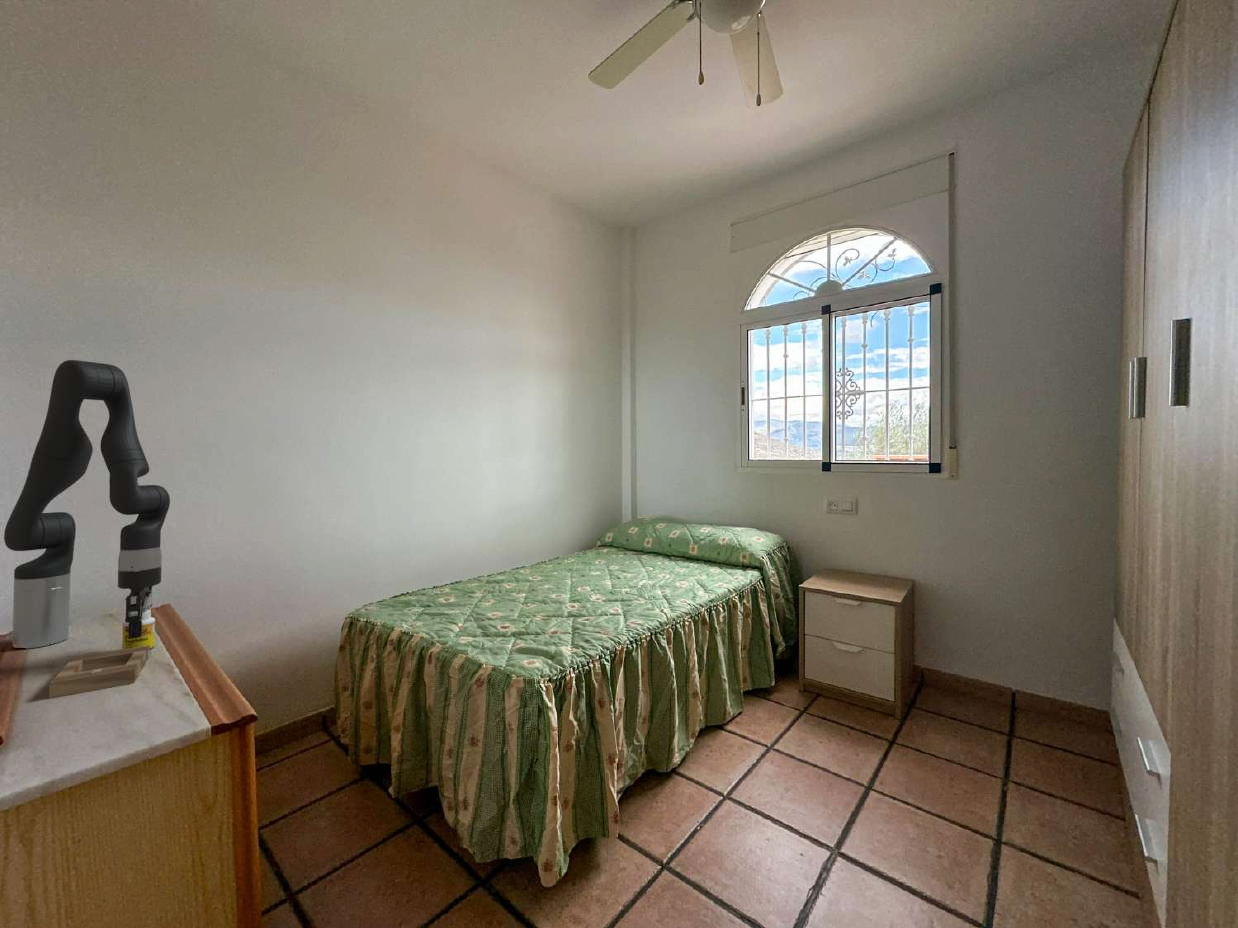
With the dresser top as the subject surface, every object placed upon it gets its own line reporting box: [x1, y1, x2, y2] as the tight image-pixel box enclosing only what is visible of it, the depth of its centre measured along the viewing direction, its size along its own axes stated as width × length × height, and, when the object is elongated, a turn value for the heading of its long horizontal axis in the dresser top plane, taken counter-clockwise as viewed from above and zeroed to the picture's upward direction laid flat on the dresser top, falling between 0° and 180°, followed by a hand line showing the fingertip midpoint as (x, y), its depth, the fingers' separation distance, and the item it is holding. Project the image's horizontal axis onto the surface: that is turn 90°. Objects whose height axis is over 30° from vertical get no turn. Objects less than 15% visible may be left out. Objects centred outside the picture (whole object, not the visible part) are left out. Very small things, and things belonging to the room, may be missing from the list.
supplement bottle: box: [121, 610, 156, 654], centre depth 117 cm, size 6×6×10 cm
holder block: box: [48, 645, 150, 699], centre depth 104 cm, size 16×12×3 cm
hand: (138, 632), depth 117 cm, fingers open, 8 cm apart
